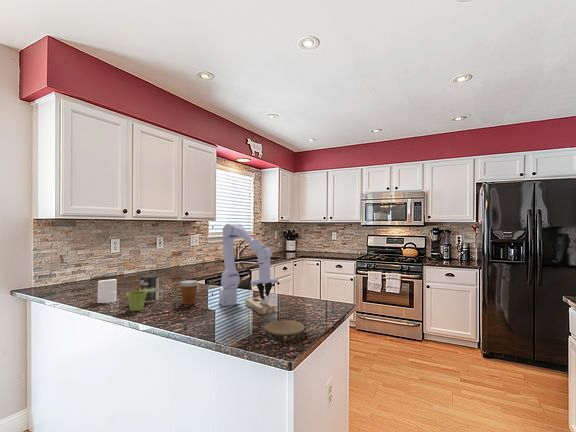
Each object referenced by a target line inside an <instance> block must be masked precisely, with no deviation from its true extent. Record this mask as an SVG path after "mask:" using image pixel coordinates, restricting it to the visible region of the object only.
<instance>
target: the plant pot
mask: <svg viewBox="0 0 576 432" xmlns="http://www.w3.org/2000/svg"><path fill="white" fill-rule="evenodd" d="M146 293H147V292H146V291H139V290H135V291H130V292H126V296H127V299H128V306H129V311H130V312H136V311H137V312H138V311H142V310H143V309H144V306H145V303H144V301H145V296H146Z"/></svg>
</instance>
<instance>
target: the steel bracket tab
mask: <svg viewBox="0 0 576 432" xmlns="http://www.w3.org/2000/svg"><path fill="white" fill-rule="evenodd" d="M268 301H269V297H268V295H266V294H265V293H264V299H261V305H262V306H264V307H265V306H268Z"/></svg>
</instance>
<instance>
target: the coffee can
mask: <svg viewBox="0 0 576 432" xmlns="http://www.w3.org/2000/svg"><path fill="white" fill-rule="evenodd" d="M159 281H160V275H159V274H155V273H153V274H143V275H142V274H141V275H140V276H139V290H138V291H146V292H147V293H146V296H145V301H144V304H145V303H153V302H156V301H159V292H160V291H159V289H160V286H159V285H160V282H159Z"/></svg>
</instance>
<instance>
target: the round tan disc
mask: <svg viewBox="0 0 576 432" xmlns="http://www.w3.org/2000/svg"><path fill="white" fill-rule="evenodd" d="M264 334H265V336H266V337H267V338H268V339H271V340H274V341H279V342H280V341H281V342H289V341H290V342H292V341H296V340H299V339H302V338H303V337H305V325H304V324H303V323H301V322H298V321H295V320H288V319H287V320H286V319H284V320H283V319H282V320H273V321H270V322H268V323H266V325H265V326H264Z"/></svg>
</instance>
